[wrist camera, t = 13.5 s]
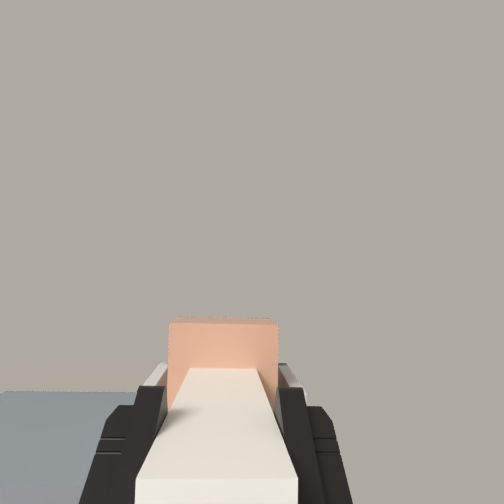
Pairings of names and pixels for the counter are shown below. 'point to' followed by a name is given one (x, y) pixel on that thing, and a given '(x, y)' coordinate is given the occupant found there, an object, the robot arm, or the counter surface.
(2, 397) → the stand
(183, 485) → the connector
